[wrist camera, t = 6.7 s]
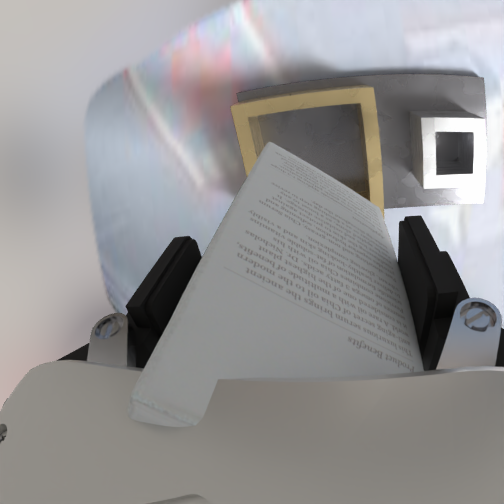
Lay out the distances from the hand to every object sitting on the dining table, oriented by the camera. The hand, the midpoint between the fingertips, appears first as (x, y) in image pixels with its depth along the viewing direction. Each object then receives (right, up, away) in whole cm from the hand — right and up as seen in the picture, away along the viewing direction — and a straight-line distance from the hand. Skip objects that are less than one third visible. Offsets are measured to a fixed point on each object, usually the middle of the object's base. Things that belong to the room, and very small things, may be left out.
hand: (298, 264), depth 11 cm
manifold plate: (+8, +9, +12) cm, 17 cm away
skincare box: (+1, +2, +4) cm, 4 cm away
